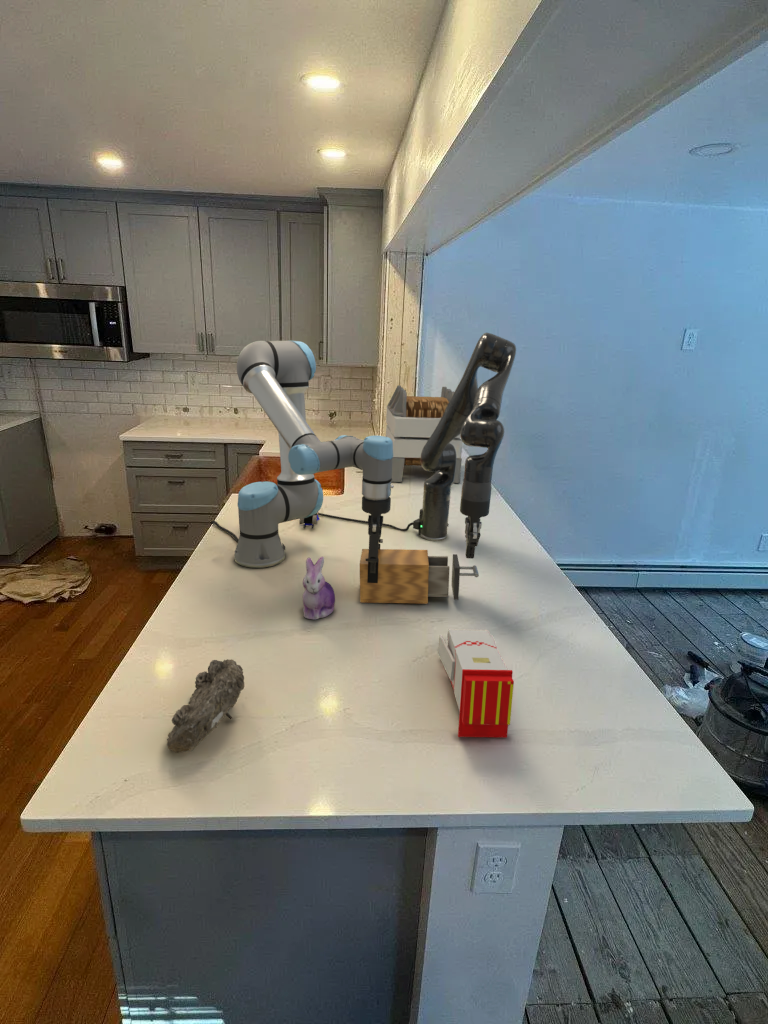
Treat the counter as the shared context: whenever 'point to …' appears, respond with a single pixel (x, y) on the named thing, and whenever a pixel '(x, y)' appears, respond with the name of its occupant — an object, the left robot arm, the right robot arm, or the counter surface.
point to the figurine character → (309, 520)
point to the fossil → (206, 705)
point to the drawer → (445, 576)
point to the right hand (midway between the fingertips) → (469, 557)
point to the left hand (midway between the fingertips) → (373, 573)
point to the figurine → (317, 592)
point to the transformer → (416, 428)
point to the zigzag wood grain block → (396, 577)
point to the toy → (478, 682)
